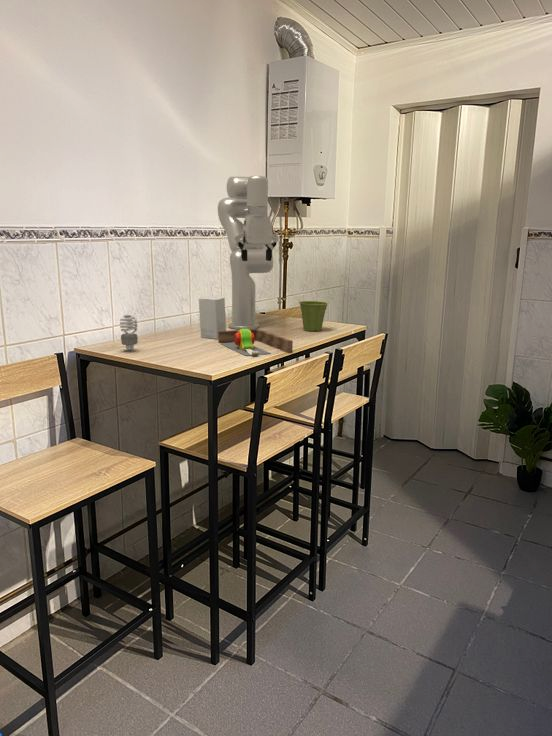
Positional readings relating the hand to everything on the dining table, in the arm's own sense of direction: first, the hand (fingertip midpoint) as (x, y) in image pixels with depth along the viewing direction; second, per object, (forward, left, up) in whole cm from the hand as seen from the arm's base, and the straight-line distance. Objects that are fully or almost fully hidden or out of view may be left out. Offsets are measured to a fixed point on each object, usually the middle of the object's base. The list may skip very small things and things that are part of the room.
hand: (256, 260), depth 211 cm
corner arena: (+17, -9, -28) cm, 34 cm away
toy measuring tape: (+21, -14, -28) cm, 38 cm away
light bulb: (+6, -49, -28) cm, 57 cm away
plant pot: (-5, +28, -28) cm, 40 cm away
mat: (+18, -13, -28) cm, 36 cm away
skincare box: (-6, -15, -28) cm, 33 cm away
